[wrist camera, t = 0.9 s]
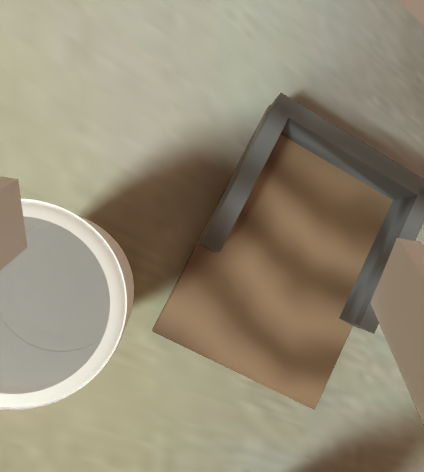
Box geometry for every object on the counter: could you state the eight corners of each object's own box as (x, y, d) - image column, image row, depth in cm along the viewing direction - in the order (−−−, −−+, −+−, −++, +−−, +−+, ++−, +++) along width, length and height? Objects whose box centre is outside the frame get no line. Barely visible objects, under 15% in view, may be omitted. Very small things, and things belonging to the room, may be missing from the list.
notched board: (266, 108, 36) (283, 88, 32) (406, 192, 38) (440, 184, 34) (152, 329, 33) (152, 340, 29) (310, 405, 36) (332, 427, 31)
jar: (-12, 281, 31) (-156, 307, 17) (77, 198, 33) (18, 154, 18) (79, 364, 32) (19, 458, 18) (162, 279, 34) (170, 301, 19)
